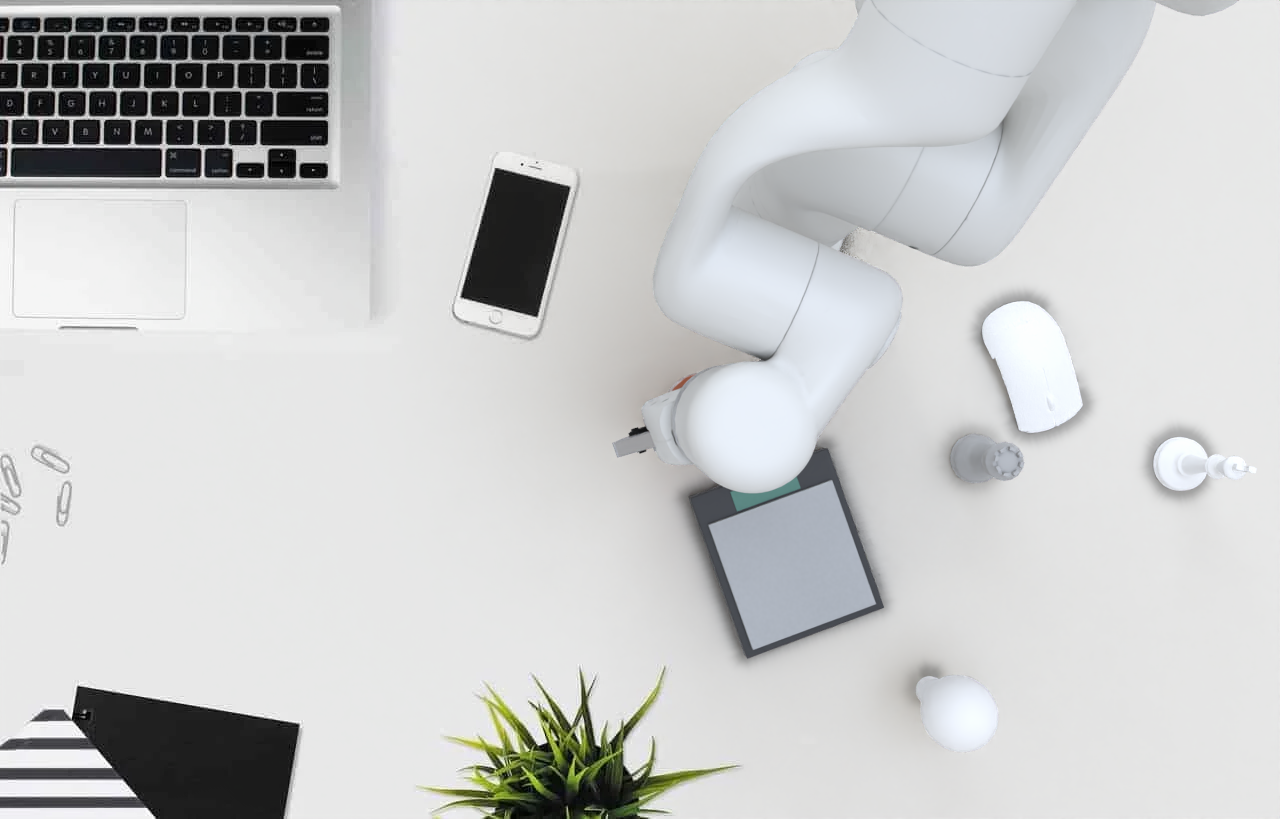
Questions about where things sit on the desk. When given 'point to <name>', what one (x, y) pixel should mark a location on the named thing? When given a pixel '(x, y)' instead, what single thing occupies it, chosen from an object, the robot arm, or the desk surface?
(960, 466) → the rook chess piece
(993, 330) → the computer mouse
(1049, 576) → the desk surface
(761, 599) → the scale
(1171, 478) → the chess piece
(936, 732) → the lightbulb
